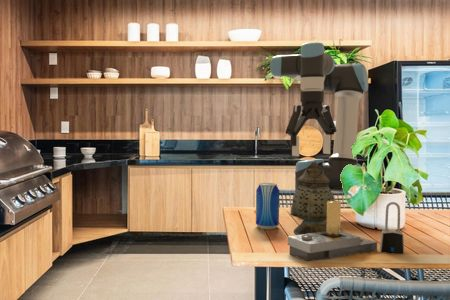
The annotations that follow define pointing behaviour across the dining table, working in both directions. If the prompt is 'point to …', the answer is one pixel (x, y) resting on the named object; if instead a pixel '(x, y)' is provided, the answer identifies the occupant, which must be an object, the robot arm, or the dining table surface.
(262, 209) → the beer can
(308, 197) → the lantern
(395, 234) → the padlock
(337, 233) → the brass pin
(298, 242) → the grey device box
